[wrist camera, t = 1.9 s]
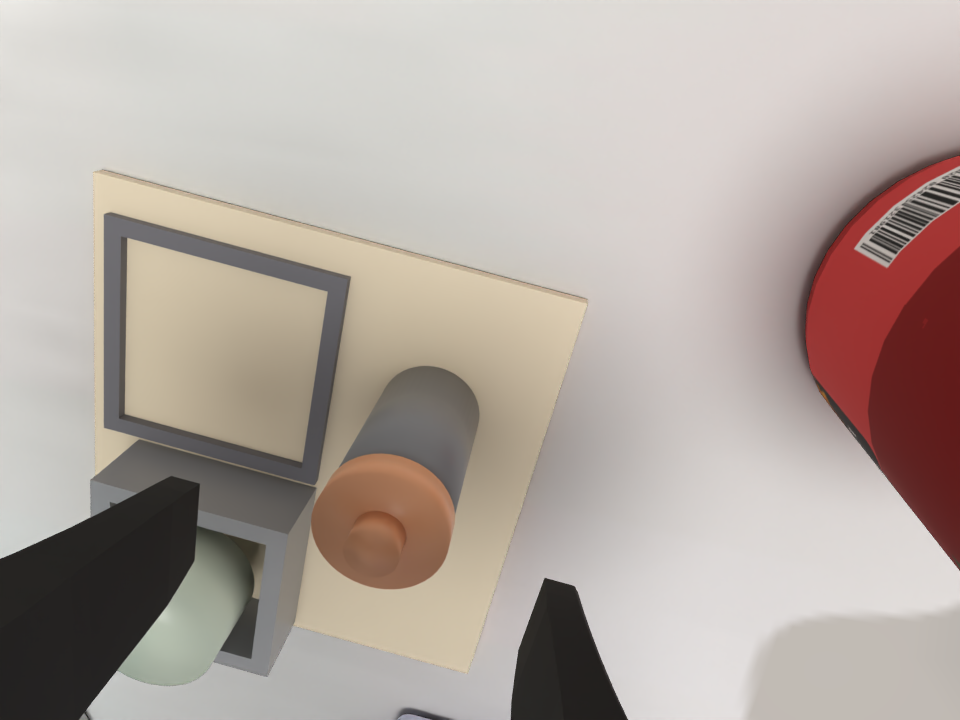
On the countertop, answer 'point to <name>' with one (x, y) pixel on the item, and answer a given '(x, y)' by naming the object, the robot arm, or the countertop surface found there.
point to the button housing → (238, 512)
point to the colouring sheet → (320, 380)
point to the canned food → (898, 340)
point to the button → (195, 615)
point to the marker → (400, 482)
